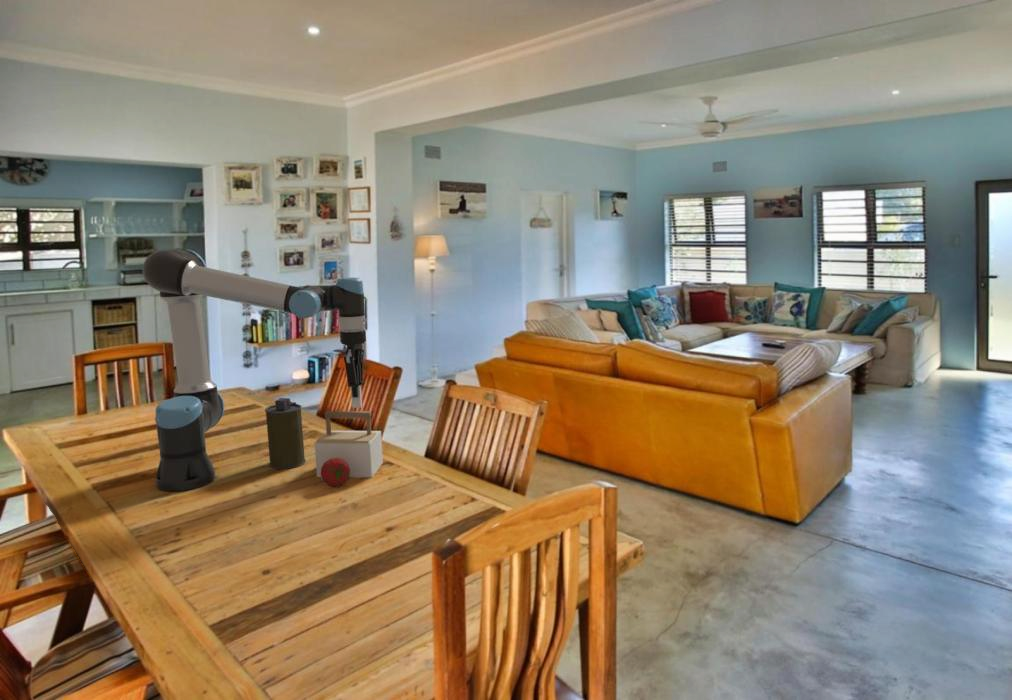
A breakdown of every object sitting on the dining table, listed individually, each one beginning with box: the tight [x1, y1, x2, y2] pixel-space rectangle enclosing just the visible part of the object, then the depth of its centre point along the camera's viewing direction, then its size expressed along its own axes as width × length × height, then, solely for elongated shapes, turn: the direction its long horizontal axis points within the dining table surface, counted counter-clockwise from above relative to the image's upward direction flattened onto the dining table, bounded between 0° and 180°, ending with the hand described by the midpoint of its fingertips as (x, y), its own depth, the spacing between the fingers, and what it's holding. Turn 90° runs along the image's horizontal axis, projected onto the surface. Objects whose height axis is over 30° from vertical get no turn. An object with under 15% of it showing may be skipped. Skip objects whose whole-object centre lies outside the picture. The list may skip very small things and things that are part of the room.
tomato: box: [321, 458, 350, 488], centre depth 183 cm, size 8×8×8 cm
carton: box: [314, 430, 384, 478], centre depth 195 cm, size 16×12×10 cm
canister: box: [264, 397, 306, 470], centre depth 200 cm, size 11×10×20 cm
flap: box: [315, 410, 376, 443], centre depth 191 cm, size 15×8×7 cm, turn 85°
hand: (357, 406), depth 202 cm, fingers closed
